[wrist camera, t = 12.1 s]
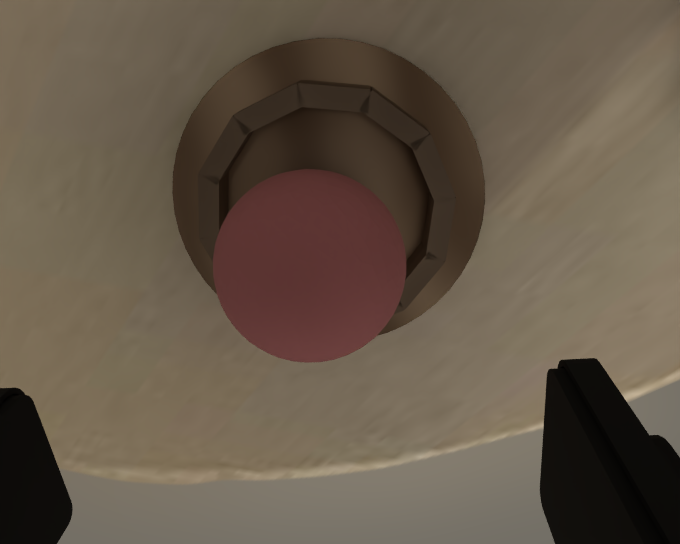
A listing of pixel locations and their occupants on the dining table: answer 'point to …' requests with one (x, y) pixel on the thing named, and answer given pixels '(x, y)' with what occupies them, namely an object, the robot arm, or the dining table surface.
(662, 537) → the robot arm
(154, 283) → the dining table surface
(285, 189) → the light bulb
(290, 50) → the holder
